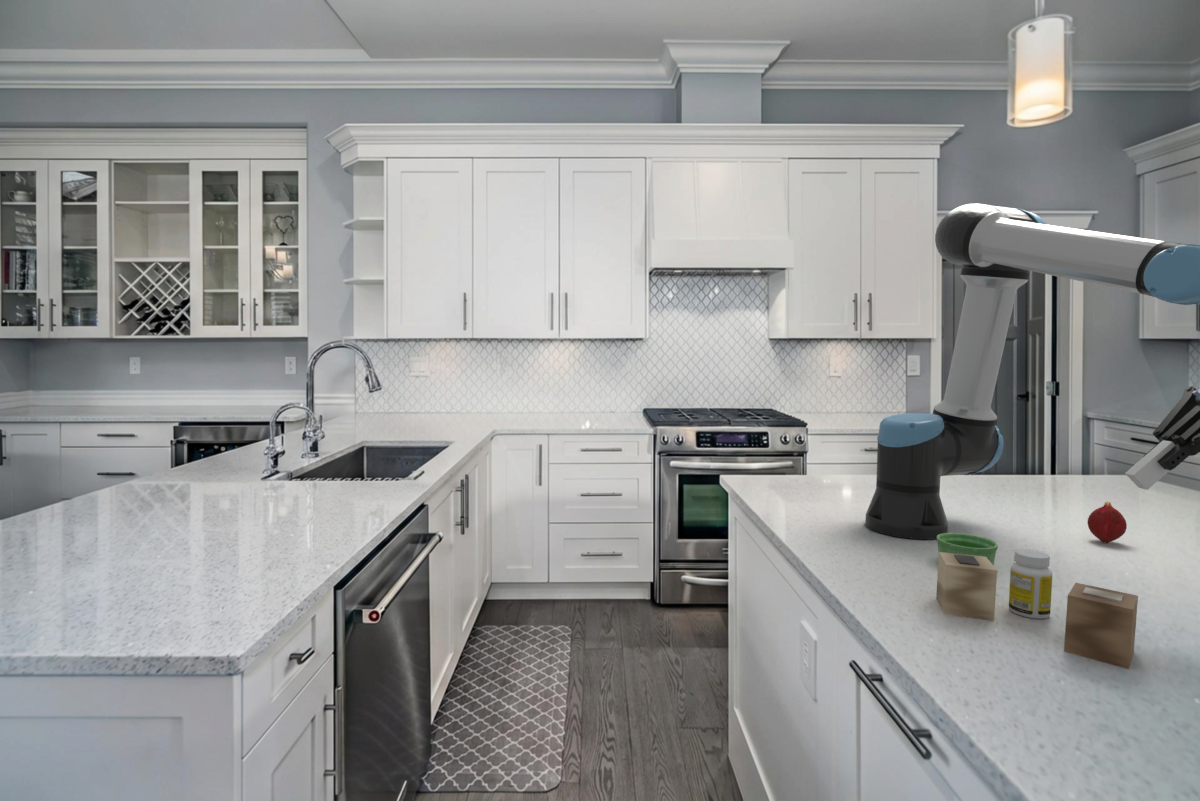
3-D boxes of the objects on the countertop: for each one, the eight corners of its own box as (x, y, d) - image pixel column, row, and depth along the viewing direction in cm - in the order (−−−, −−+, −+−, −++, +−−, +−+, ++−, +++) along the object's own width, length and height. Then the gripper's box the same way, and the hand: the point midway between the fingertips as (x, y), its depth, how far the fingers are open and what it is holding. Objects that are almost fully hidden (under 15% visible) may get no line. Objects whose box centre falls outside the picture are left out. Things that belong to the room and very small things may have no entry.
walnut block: (1063, 651, 76) (1067, 593, 75) (1071, 636, 80) (1075, 581, 79) (1128, 669, 71) (1133, 607, 71) (1133, 652, 76) (1138, 594, 75)
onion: (1132, 548, 117) (1135, 506, 116) (1097, 546, 118) (1100, 504, 118) (1113, 539, 123) (1116, 499, 122) (1080, 537, 124) (1082, 497, 123)
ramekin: (925, 563, 108) (927, 538, 107) (949, 553, 113) (951, 529, 113) (982, 578, 101) (984, 551, 100) (1005, 567, 106) (1006, 542, 106)
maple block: (943, 614, 86) (946, 563, 86) (936, 598, 92) (938, 550, 91) (993, 621, 84) (997, 568, 84) (983, 604, 90) (986, 555, 89)
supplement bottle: (1043, 608, 88) (1047, 550, 88) (1055, 622, 84) (1059, 560, 83) (1004, 603, 90) (1007, 546, 89) (1013, 616, 86) (1017, 556, 85)
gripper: (1356, 380, 75) (1198, 513, 78) (1251, 376, 88) (1118, 491, 91) (1312, 335, 75) (1155, 470, 78) (1214, 338, 88) (1082, 454, 91)
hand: (1136, 481), depth 84 cm, fingers closed
